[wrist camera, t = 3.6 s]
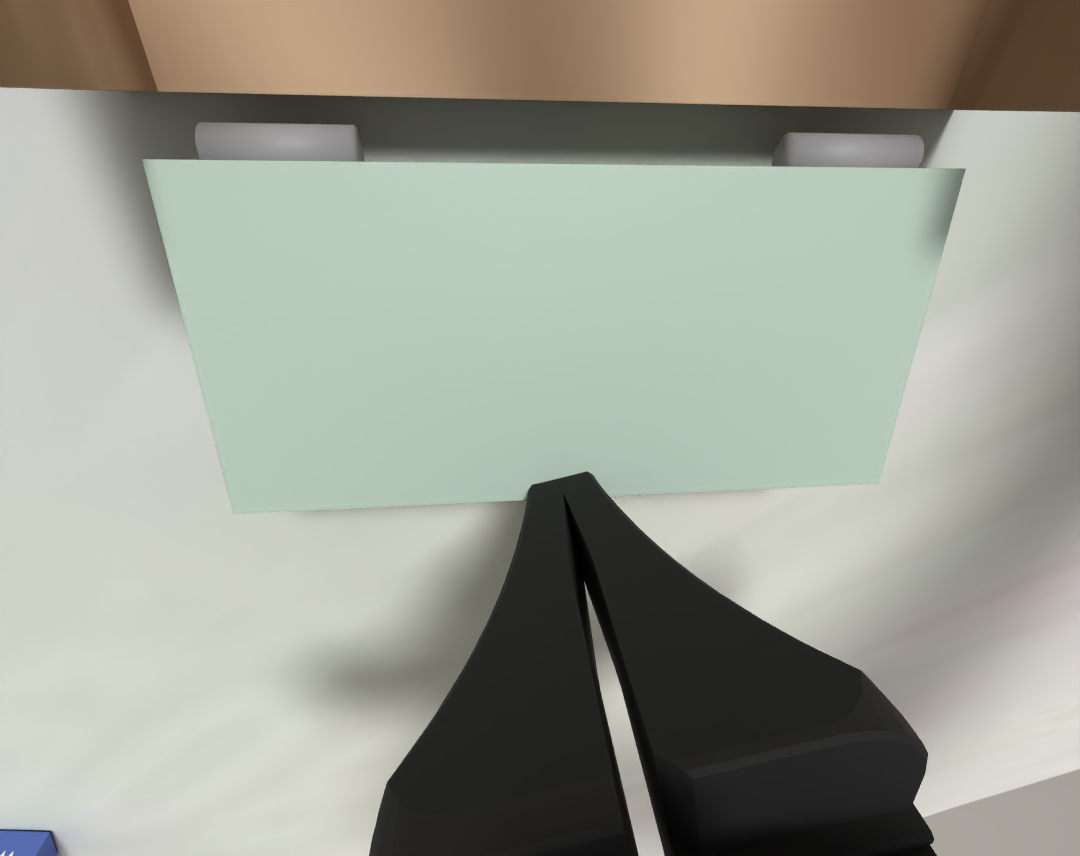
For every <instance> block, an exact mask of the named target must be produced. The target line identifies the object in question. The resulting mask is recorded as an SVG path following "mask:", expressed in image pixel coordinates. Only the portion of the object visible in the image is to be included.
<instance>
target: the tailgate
mask: <svg viewBox="0 0 1080 856" xmlns="http://www.w3.org/2000/svg"><path fill="white" fill-rule="evenodd" d="M195 143H196V148H197V152H198V155H199V157H200V160H168V159H142V161H143V165H144V169H145V173H146V177H147V181H148V185H149V189H150V193H151V196H152V200H153V204H154V208H155V212H156V216H157V220H158V224H159V227H160V231H161V235H162V239H163V243H164V247H165V251H166V255H167V258H168V262H169V266H170V270H171V274H172V278H173V282H174V286H175V289H176V293H177V297H178V301H179V305H180V309H181V313H182V317H183V321H184V324H185V328H186V332H187V336H188V340H189V344H190V348H191V352H192V355H193V359H194V363H195V367H196V371H197V375H198V379H199V383H200V386H201V390H202V394H203V398H204V402H205V406H206V410H207V414H208V417H209V421H210V425H211V429H212V433H213V437H214V441H215V445H216V449H217V452H218V456H219V460H220V464H221V468H222V472H223V476H224V480H225V483H226V487H227V491H228V495H229V499H230V503H231V507H232V511H233V514H247V513H268V512H290V511H311V510H332V509H353V508H374V507H395V506H416V505H437V504H458V503H479V502H500V501H522V500H527V496H528V490H529V488H530V487H531V485H533V484H537V483H542V482H546V481H550V480H554V479H558V478H562V477H566V476H570V475H574V474H578V473H582V472H586V471H588V472H589V473H591V474H593V475H594V477H595V478H596V480H597V481H598V483H599V484H600V485H601V487H602V488H603V489H604V490H605V492H606V493H607V494H608V495H609V496H627V495H648V494H669V493H690V492H711V491H732V490H754V489H775V488H796V487H817V486H838V485H859V484H879V480H880V476H881V473H882V469H883V466H884V462H885V458H886V455H887V451H888V447H889V444H890V440H891V437H892V433H893V429H894V426H895V422H896V419H897V415H898V411H899V408H900V404H901V400H902V397H903V393H904V390H905V386H906V382H907V379H908V375H909V372H910V368H911V364H912V361H913V357H914V353H915V350H916V346H917V343H918V339H919V335H920V332H921V328H922V325H923V321H924V317H925V314H926V310H927V306H928V303H929V299H930V296H931V292H932V288H933V285H934V281H935V278H936V274H937V270H938V267H939V263H940V259H941V256H942V252H943V249H944V245H945V241H946V238H947V234H948V231H949V227H950V223H951V220H952V216H953V212H954V209H955V205H956V202H957V198H958V194H959V191H960V187H961V184H962V180H963V176H964V173H965V169H946V168H919V166H920V164H921V162H922V159H923V155H924V143H923V140H922V138H921V137H920V136H918V135H901V134H845V133H787V134H785V135H784V136H783V137H782V138H781V140H780V141H779V143H778V145H777V147H776V149H775V152H774V156H773V161H772V166H687V165H600V164H514V163H427V162H364V156H363V149H362V143H361V139H360V135H359V132H358V130H357V127H356V126H355V125H341V124H285V123H229V122H199V123H198V124H197V125H196V128H195Z"/></svg>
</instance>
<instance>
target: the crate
mask: <svg viewBox="0 0 1080 856" xmlns="http://www.w3.org/2000/svg"><path fill="white" fill-rule="evenodd" d="M0 87H7V88H40V89H73V90H106V91H145V92H189V93H233V94H277V95H321V96H365V97H409V98H453V99H497V100H541V101H585V102H629V103H674V104H718V105H762V106H806V107H850V108H894V109H938V110H991V111H1050V112H1080V0H0Z"/></svg>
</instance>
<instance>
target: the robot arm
mask: <svg viewBox="0 0 1080 856" xmlns="http://www.w3.org/2000/svg"><path fill="white" fill-rule="evenodd" d="M584 581H585V584H586V587H587V590H588V593H589V596H590V598H591V601H592V604H593V607H594V610H595V613H596V615H597V618H598V621H599V624H600V627H601V629H602V632H603V635H604V638H605V641H606V644H607V646H608V649H609V652H610V655H611V658H612V660H613V663H614V666H615V669H616V672H617V675H618V679H619V682H620V685H621V688H622V692H623V696H624V700H625V704H626V707H627V711H628V715H629V719H630V723H631V727H632V730H633V734H634V738H635V742H636V746H637V750H638V753H639V757H640V761H641V765H642V769H643V773H644V777H645V780H646V784H647V788H648V792H649V796H650V800H651V804H652V808H653V811H654V815H655V819H656V823H657V827H658V831H659V835H660V839H661V842H662V846H663V850H664V854H665V856H937V855H936V854H935V852H934V850H933V849H932V847H931V846H930V844H932V843H933V841H934V837H933V835H932V832H931V830H930V829H929V827H928V825H927V824H926V822H925V821H924V819H923V818H922V816H921V815H920V813H919V812H918V810H917V809H916V807H915V806H914V804H913V801H914V799H915V797H916V794H917V792H918V789H919V787H920V785H921V782H922V780H923V777H924V775H925V771H926V765H927V758H928V752H927V750H926V749H925V747H924V745H923V743H922V741H921V740H920V739H919V737H918V736H917V734H916V733H915V732H914V730H913V729H912V727H911V726H910V725H909V724H908V722H907V721H906V720H905V718H904V717H903V716H902V715H901V713H900V712H899V711H898V710H897V709H896V708H895V707H894V705H893V704H892V703H891V702H890V701H889V700H888V699H887V698H886V696H885V695H884V694H883V693H882V692H881V691H880V690H879V689H878V688H877V687H876V686H875V685H874V683H873V682H872V681H871V680H870V679H869V678H868V677H867V676H866V675H865V674H864V673H863V672H862V671H861V670H859V669H857V668H854V667H852V666H850V665H848V664H846V663H844V662H842V661H840V660H838V659H836V658H834V657H832V656H830V655H827V654H825V653H823V652H821V651H819V650H817V649H815V648H813V647H811V646H809V645H807V644H805V643H803V642H801V641H799V640H797V639H796V638H794V637H792V636H790V635H788V634H787V633H785V632H783V631H781V630H780V629H778V628H776V627H774V626H772V625H771V624H769V623H767V622H765V621H763V620H762V619H760V618H759V617H757V616H755V615H754V614H752V613H751V612H749V611H747V610H746V609H744V608H743V607H741V606H739V605H738V604H736V603H735V602H733V601H731V600H730V599H728V598H727V597H725V596H724V595H722V594H720V593H719V592H717V591H716V590H715V589H713V588H712V587H710V586H709V585H707V584H706V583H705V582H703V581H702V580H700V579H699V578H698V577H696V576H695V575H694V574H692V573H691V572H690V571H688V570H687V569H686V568H684V567H683V566H682V565H681V564H679V563H678V562H677V561H676V560H674V559H673V558H672V557H671V556H669V555H668V554H667V553H666V552H665V551H664V550H662V549H661V548H660V547H659V546H658V545H657V544H656V543H655V542H653V541H652V540H651V539H650V538H649V537H648V536H647V535H646V534H645V533H644V532H643V531H642V530H641V529H640V528H638V527H637V526H636V525H635V524H634V522H633V521H632V520H631V519H630V518H629V517H628V516H627V515H626V514H625V513H624V512H623V511H622V510H621V509H620V508H619V507H618V506H617V505H616V503H615V502H614V501H613V500H612V499H611V498H610V496H609V495H608V494H607V493H606V492H605V490H604V489H603V488H602V487H601V485H600V484H599V483H598V481H597V480H596V478H595V477H594V475H593V474H591V473H589V472H588V471H586V472H582V473H578V474H574V475H570V476H566V477H562V478H558V479H554V480H550V481H546V482H542V483H537V484H533V485H531V487H530V488H529V490H528V496H527V504H526V509H525V514H524V519H523V524H522V528H521V531H520V535H519V539H518V543H517V546H516V550H515V553H514V556H513V559H512V562H511V565H510V568H509V571H508V574H507V577H506V580H505V582H504V585H503V588H502V590H501V593H500V595H499V598H498V600H497V602H496V605H495V607H494V609H493V611H492V614H491V616H490V618H489V620H488V622H487V625H486V627H485V629H484V631H483V633H482V635H481V637H480V638H479V640H478V642H477V644H476V646H475V648H474V650H473V652H472V654H471V656H470V658H469V660H468V661H467V663H466V665H465V667H464V669H463V670H462V672H461V674H460V675H459V677H458V679H457V680H456V682H455V683H454V685H453V687H452V688H451V690H450V692H449V693H448V695H447V696H446V698H445V700H444V701H443V703H442V705H441V706H440V708H439V709H438V711H437V713H436V714H435V716H434V717H433V719H432V720H431V722H430V723H429V725H428V726H427V728H426V729H425V730H424V732H423V733H422V735H421V736H420V737H419V739H418V740H417V742H416V743H415V744H414V746H413V747H412V749H411V750H410V751H409V753H408V754H407V756H406V757H405V758H404V760H403V761H402V763H401V764H400V765H399V767H398V768H397V769H396V771H395V772H394V774H393V775H392V776H391V778H390V779H389V780H388V782H387V784H386V788H385V791H384V794H383V798H382V802H381V806H380V809H379V813H378V817H377V822H376V826H375V830H374V834H373V838H372V842H371V848H370V854H369V856H639V855H638V851H637V847H636V843H635V838H634V834H633V830H632V825H631V821H630V817H629V812H628V808H627V804H626V800H625V795H624V791H623V787H622V782H621V778H620V774H619V769H618V765H617V761H616V756H615V752H614V748H613V743H612V739H611V735H610V730H609V726H608V722H607V717H606V713H605V709H604V704H603V700H602V696H601V691H600V686H599V680H598V675H597V668H596V661H595V654H594V647H593V640H592V633H591V626H590V619H589V612H588V605H587V598H586V592H585V585H584Z"/></svg>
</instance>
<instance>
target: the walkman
mask: <svg viewBox="0 0 1080 856" xmlns="http://www.w3.org/2000/svg"><path fill="white" fill-rule="evenodd" d="M57 855H58V854H57V851H56V848H55V845H54V843H53V840H52V837H51V834H50V832H39V831H9V830H0V856H57Z"/></svg>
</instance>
